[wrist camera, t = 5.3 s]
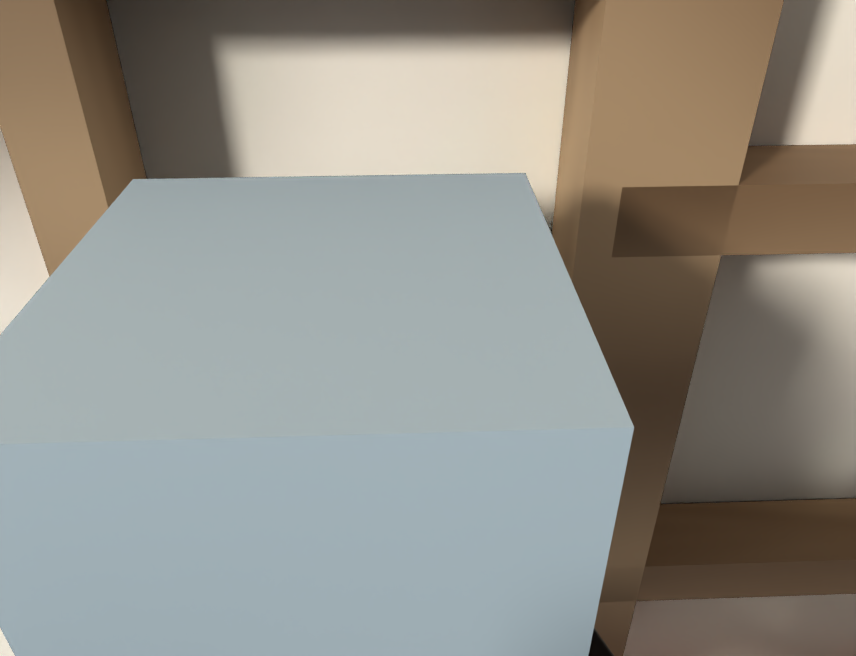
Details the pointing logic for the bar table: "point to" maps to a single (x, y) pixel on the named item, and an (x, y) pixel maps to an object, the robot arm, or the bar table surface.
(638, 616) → the bar table surface
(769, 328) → the bar table surface
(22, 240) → the bar table surface
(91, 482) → the light blue rectangular block
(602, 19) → the jig
